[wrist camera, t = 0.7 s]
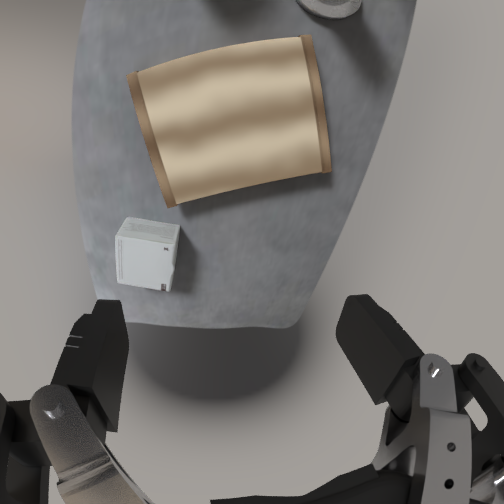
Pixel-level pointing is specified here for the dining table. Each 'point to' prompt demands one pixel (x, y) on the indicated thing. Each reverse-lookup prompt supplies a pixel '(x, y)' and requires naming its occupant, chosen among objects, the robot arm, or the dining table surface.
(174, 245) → the small box
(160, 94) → the stand
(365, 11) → the dining table surface
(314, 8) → the bell jar
